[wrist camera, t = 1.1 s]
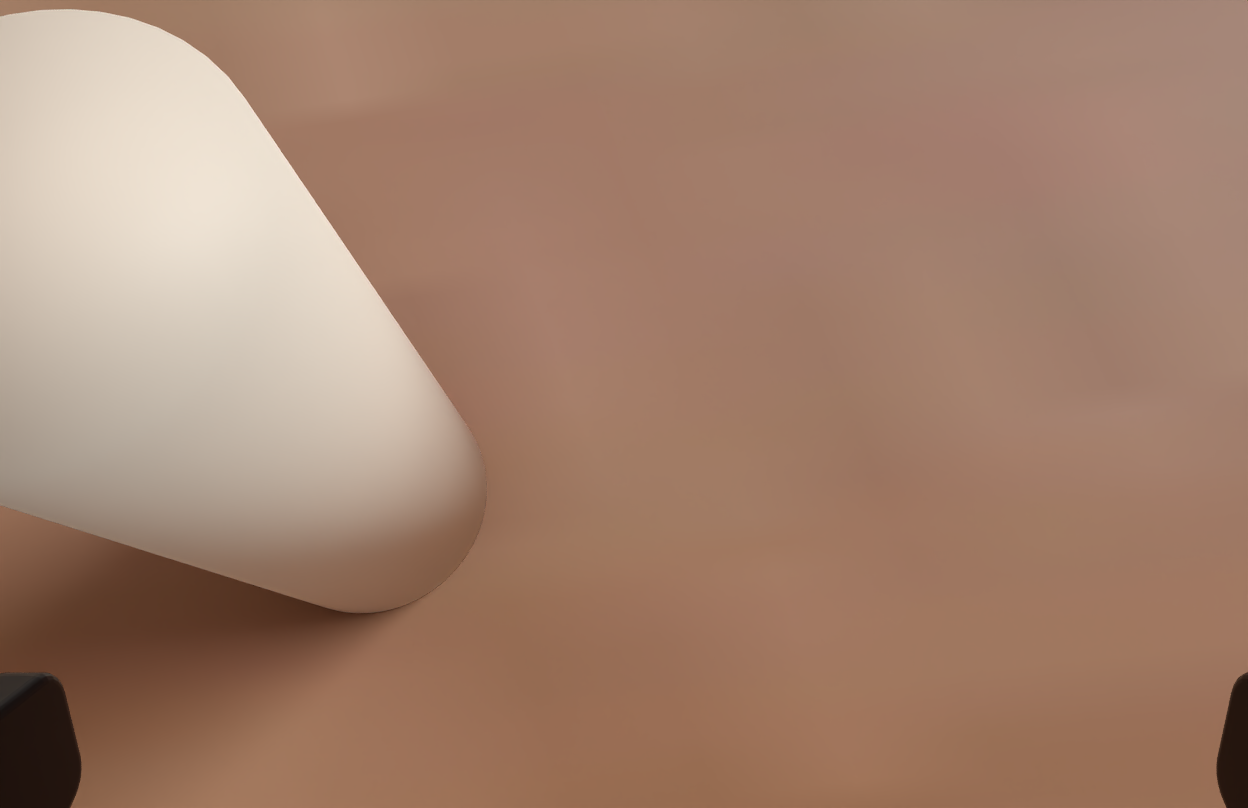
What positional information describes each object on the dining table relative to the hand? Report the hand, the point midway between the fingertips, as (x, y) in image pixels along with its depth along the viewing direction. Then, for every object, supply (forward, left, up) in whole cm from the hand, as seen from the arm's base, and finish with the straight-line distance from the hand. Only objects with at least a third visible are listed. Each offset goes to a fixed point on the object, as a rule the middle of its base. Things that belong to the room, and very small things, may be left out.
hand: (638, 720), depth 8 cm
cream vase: (-4, +6, -14) cm, 16 cm away
